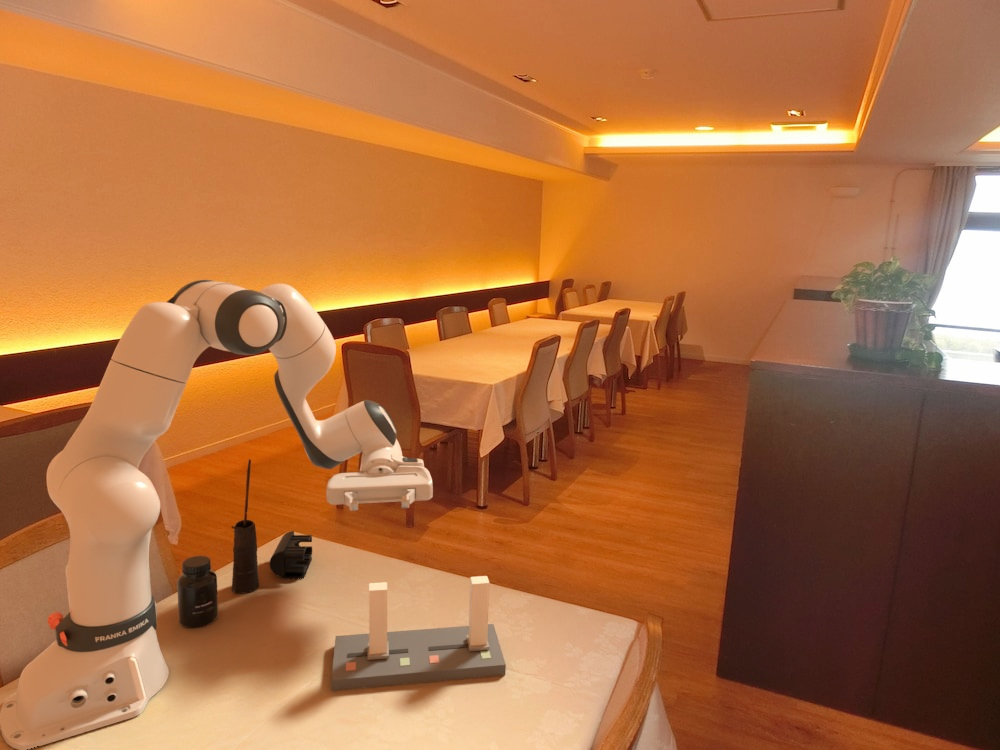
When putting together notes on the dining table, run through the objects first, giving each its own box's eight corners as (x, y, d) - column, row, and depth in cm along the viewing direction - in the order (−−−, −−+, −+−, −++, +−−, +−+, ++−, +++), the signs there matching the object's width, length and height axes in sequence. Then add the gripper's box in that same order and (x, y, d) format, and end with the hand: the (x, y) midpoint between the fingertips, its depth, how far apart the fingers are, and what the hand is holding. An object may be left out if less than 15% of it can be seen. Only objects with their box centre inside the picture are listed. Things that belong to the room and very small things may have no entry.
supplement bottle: (203, 631, 119) (199, 572, 116) (171, 626, 120) (166, 567, 118) (226, 611, 126) (223, 555, 123) (195, 606, 127) (191, 550, 124)
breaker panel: (331, 690, 105) (331, 679, 104) (335, 645, 116) (335, 635, 116) (505, 674, 110) (505, 664, 110) (493, 633, 122) (493, 623, 122)
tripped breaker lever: (367, 659, 109) (367, 593, 107) (367, 645, 113) (367, 580, 111) (388, 658, 110) (389, 591, 107) (388, 643, 114) (388, 579, 111)
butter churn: (226, 608, 127) (219, 474, 121) (210, 587, 134) (203, 460, 128) (272, 592, 133) (267, 464, 127) (254, 574, 140) (249, 451, 134)
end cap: (281, 558, 147) (280, 530, 146) (312, 557, 148) (312, 530, 146) (269, 580, 137) (268, 551, 136) (303, 580, 138) (302, 551, 137)
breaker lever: (469, 651, 113) (471, 586, 110) (466, 637, 117) (468, 574, 114) (489, 649, 113) (492, 585, 111) (485, 635, 117) (488, 573, 115)
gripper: (328, 462, 129) (320, 492, 116) (430, 458, 132) (434, 487, 119) (329, 491, 131) (322, 524, 117) (430, 487, 134) (434, 518, 121)
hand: (379, 505), depth 118 cm, fingers open, 8 cm apart
